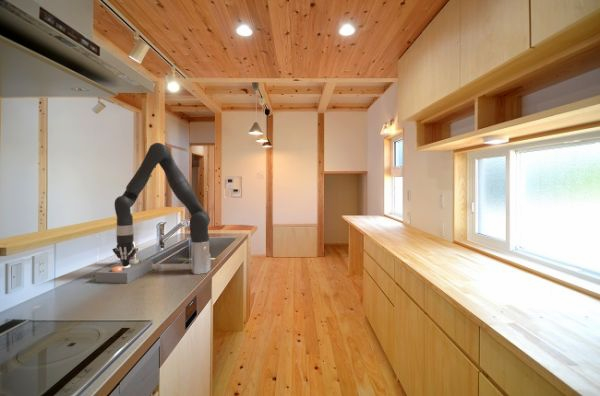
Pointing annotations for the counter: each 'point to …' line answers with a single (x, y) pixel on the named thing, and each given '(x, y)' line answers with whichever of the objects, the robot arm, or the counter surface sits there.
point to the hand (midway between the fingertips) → (125, 266)
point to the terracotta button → (116, 268)
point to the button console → (123, 272)
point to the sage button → (133, 261)
